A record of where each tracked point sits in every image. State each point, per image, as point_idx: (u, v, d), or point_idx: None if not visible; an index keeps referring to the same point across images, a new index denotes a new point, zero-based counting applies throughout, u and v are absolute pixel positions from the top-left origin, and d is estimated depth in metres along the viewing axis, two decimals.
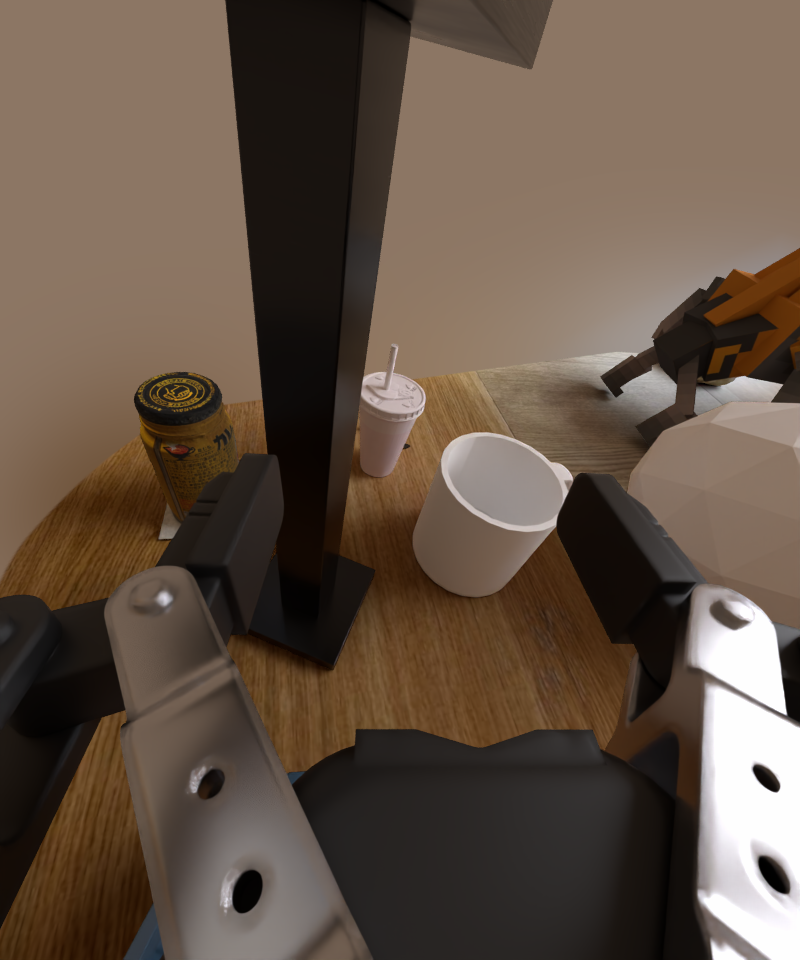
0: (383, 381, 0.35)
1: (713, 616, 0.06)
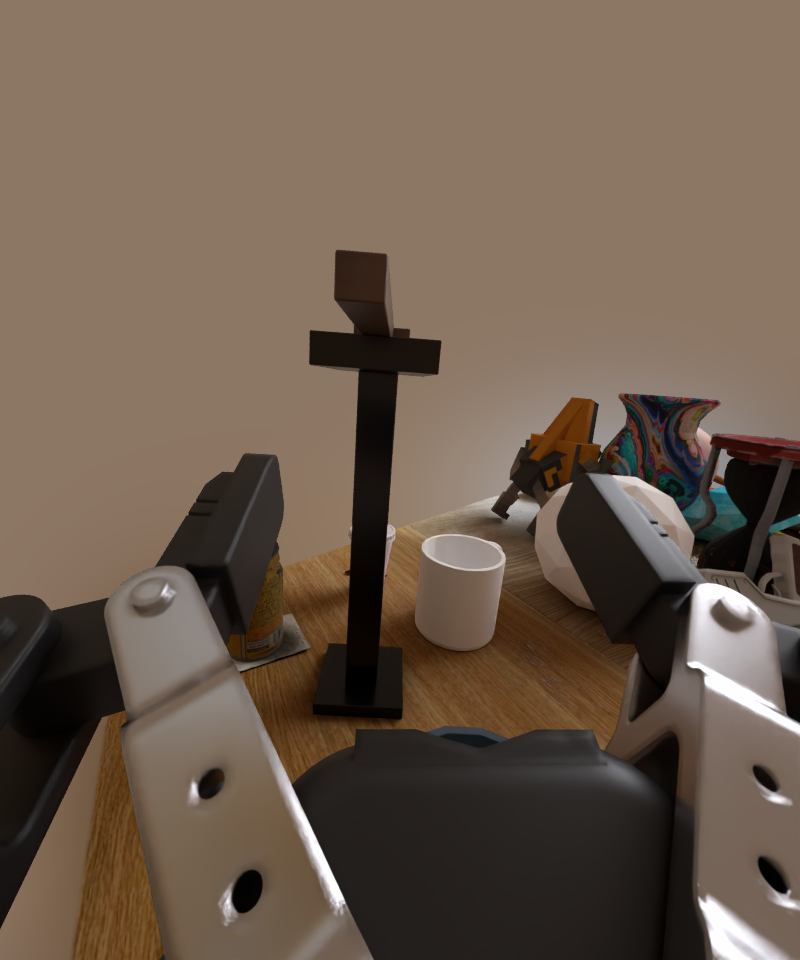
0: None
1: (713, 616, 0.06)
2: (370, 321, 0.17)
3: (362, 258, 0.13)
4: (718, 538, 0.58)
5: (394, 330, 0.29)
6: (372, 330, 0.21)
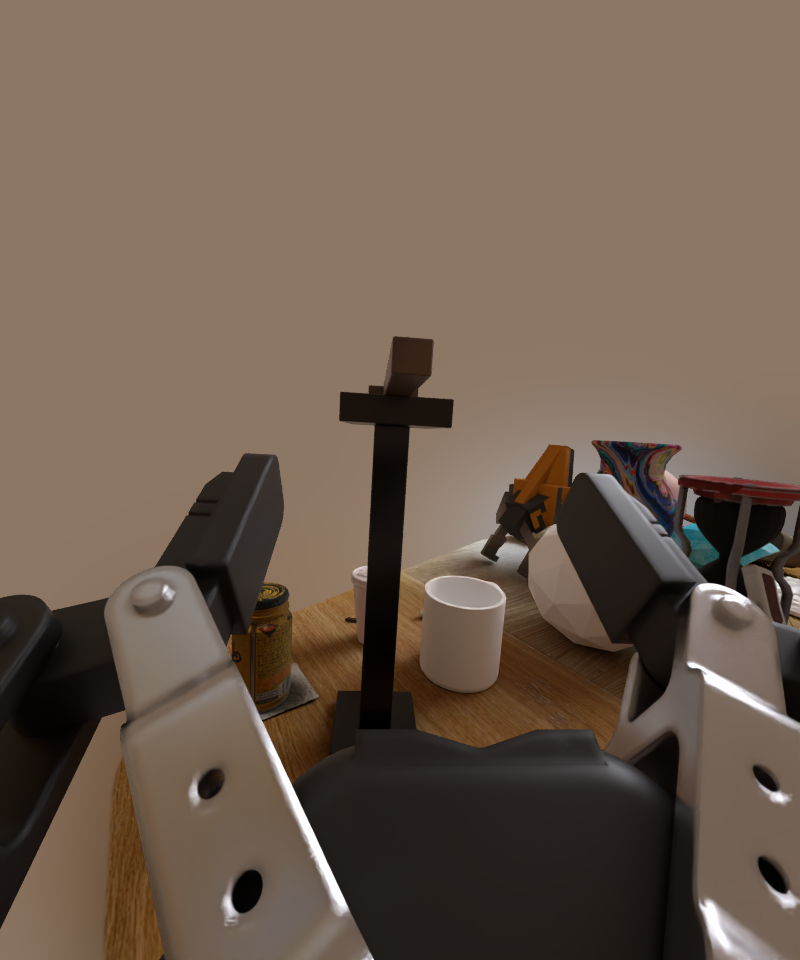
0: (366, 570, 0.53)
1: (713, 616, 0.06)
2: (404, 386, 0.21)
3: (414, 342, 0.16)
4: None
5: None
6: (398, 392, 0.24)
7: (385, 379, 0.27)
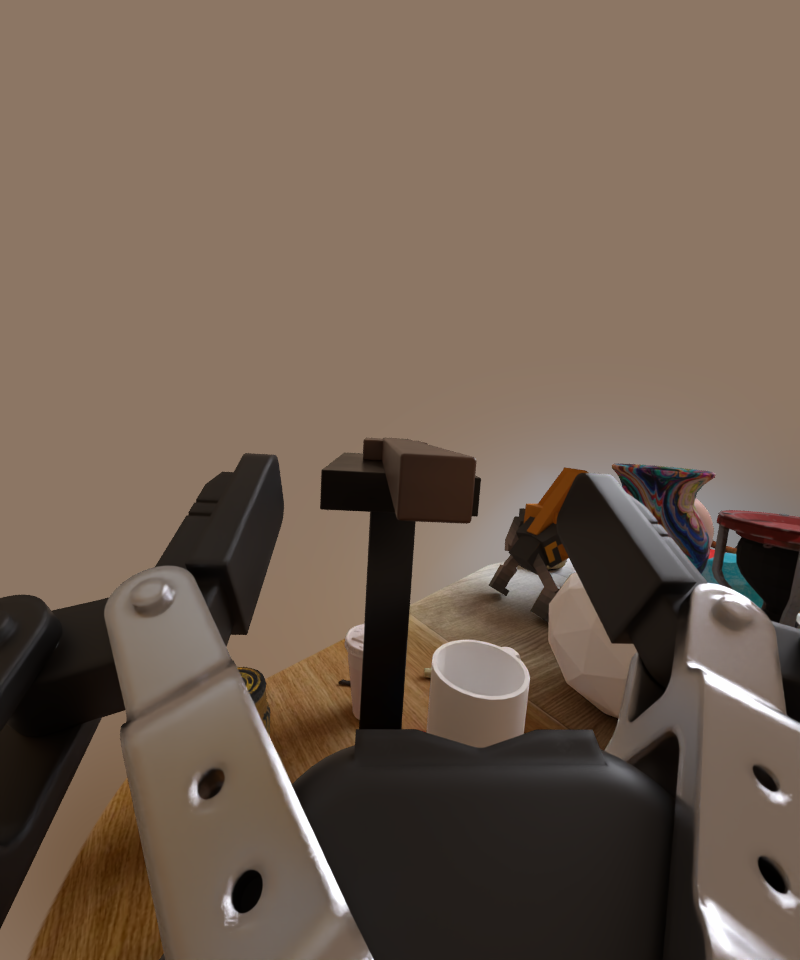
0: (362, 631, 0.46)
1: (713, 616, 0.06)
2: None
3: (440, 465, 0.09)
4: None
5: None
6: None
7: (385, 449, 0.19)
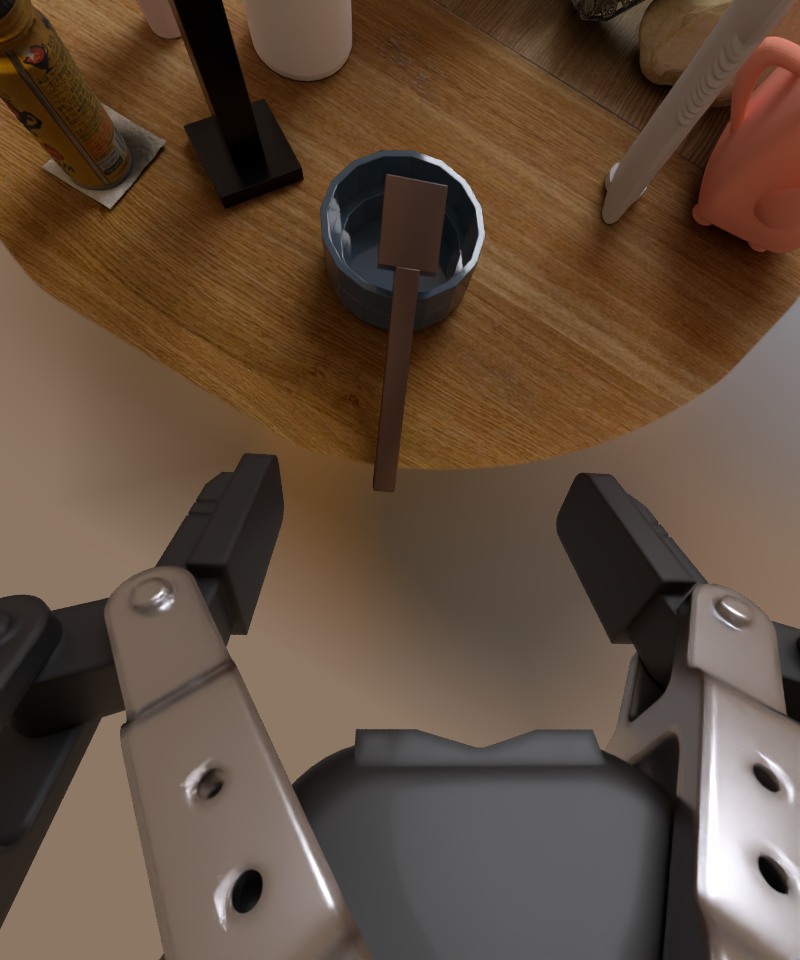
0: None
1: (713, 616, 0.06)
2: None
3: (384, 490, 0.32)
4: None
5: (420, 271, 0.28)
6: None
7: (386, 358, 0.29)
